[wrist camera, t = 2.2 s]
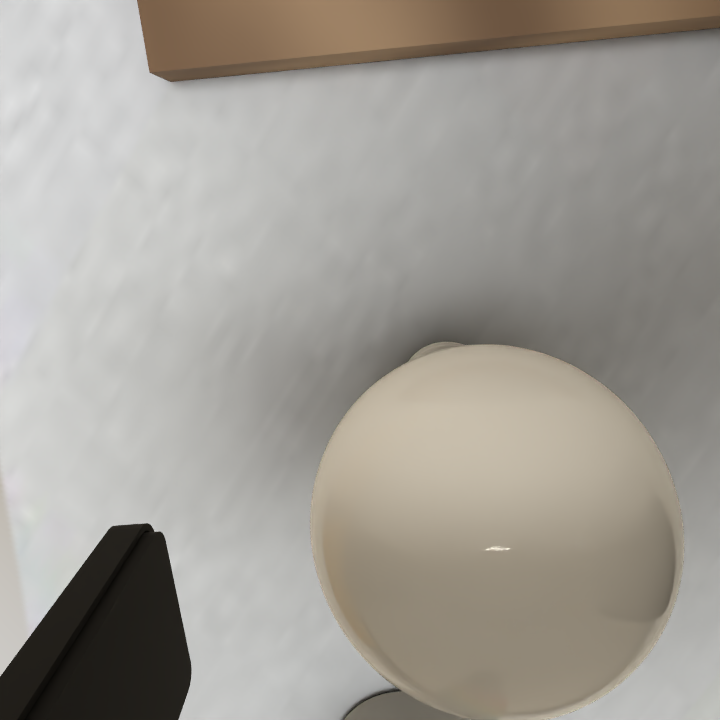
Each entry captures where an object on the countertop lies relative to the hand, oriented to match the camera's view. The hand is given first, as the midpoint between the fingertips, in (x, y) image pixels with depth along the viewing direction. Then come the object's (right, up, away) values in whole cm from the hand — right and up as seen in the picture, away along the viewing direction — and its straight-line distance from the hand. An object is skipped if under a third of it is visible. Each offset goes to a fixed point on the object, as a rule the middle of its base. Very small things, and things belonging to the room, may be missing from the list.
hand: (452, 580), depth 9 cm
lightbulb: (+1, +3, +9) cm, 9 cm away
